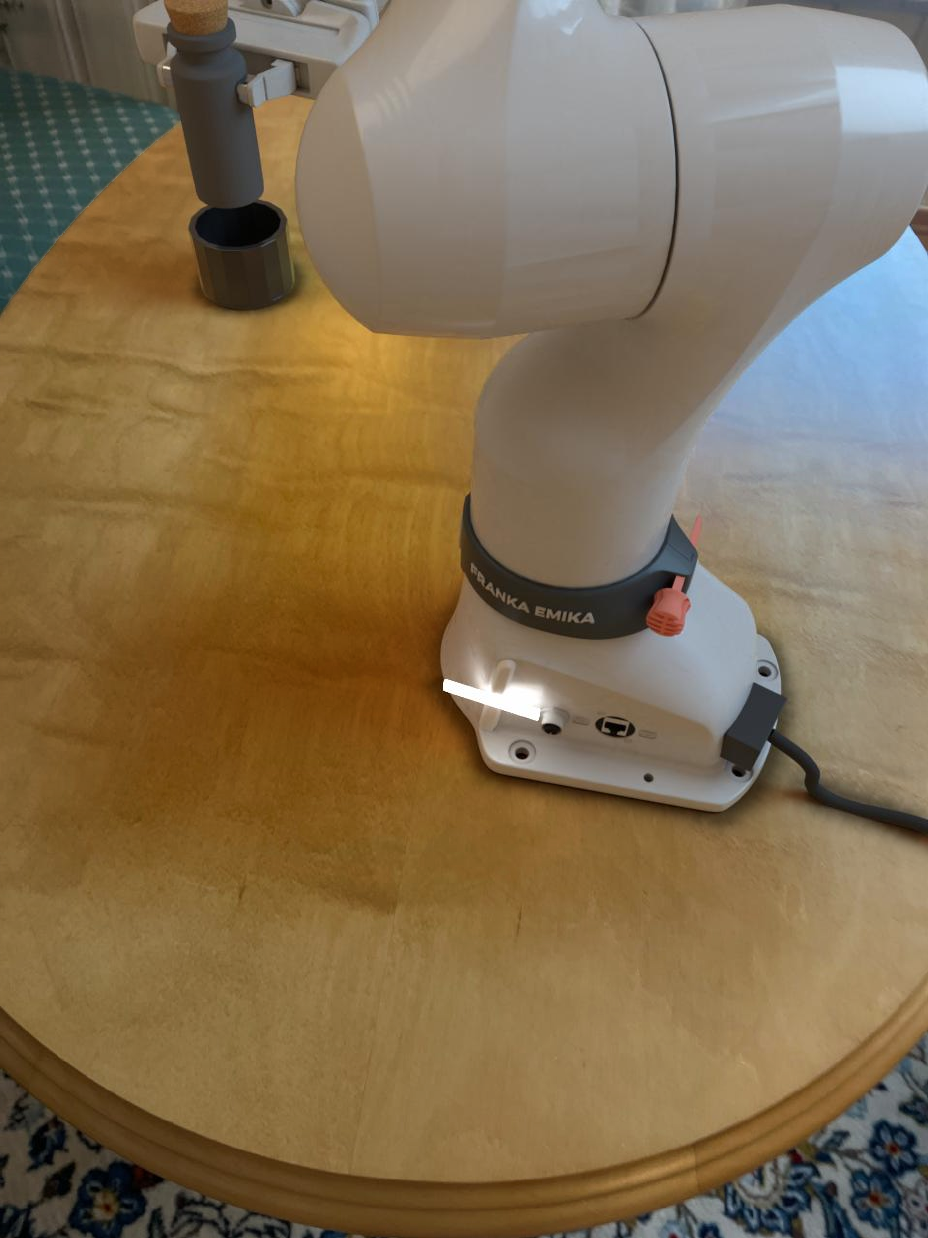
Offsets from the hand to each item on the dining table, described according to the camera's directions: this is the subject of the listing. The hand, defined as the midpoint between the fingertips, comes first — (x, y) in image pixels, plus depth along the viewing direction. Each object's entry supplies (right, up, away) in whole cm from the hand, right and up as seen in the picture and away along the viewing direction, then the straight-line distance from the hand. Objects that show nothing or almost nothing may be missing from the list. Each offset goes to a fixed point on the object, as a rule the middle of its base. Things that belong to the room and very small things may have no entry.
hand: (205, 87), depth 76 cm
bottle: (0, -5, +8) cm, 9 cm away
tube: (0, -10, +15) cm, 18 cm away
